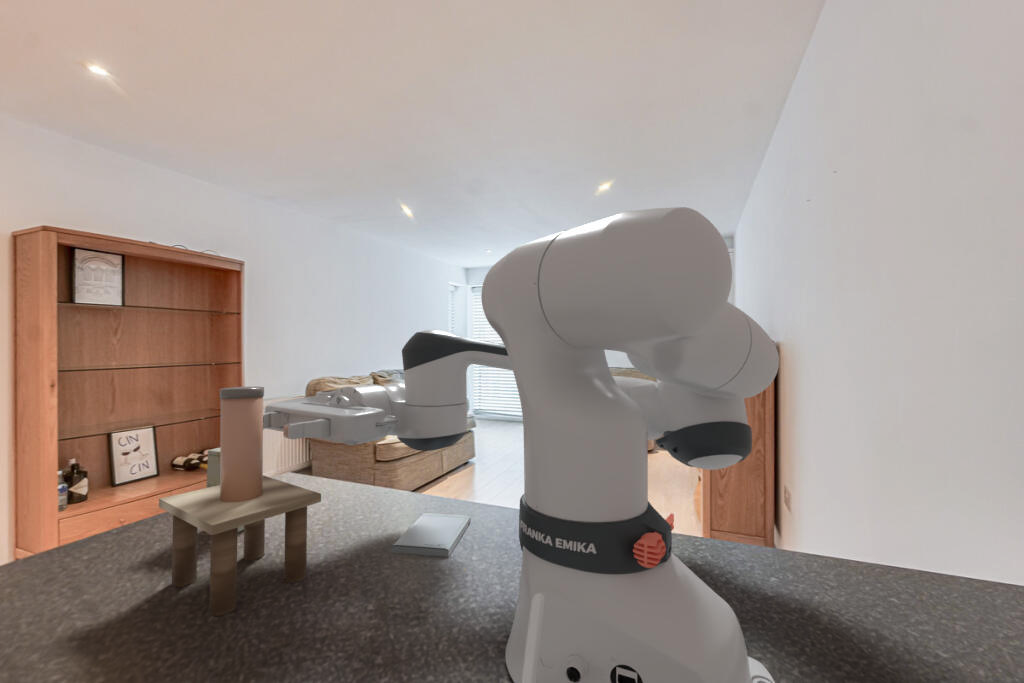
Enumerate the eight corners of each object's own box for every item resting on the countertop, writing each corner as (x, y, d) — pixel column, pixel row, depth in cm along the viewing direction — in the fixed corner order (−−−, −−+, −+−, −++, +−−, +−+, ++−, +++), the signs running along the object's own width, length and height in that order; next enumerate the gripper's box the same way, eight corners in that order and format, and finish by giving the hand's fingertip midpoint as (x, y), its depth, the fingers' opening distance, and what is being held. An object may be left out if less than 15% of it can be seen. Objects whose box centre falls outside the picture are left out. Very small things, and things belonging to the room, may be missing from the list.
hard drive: (448, 548, 60) (470, 514, 72) (391, 544, 61) (422, 511, 73) (448, 561, 60) (470, 524, 72) (391, 556, 61) (422, 521, 73)
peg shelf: (320, 575, 55) (321, 493, 55) (210, 625, 45) (212, 525, 45) (261, 546, 62) (262, 475, 63) (157, 583, 53) (159, 498, 53)
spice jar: (271, 494, 54) (271, 387, 55) (230, 505, 51) (231, 390, 51) (251, 487, 57) (252, 386, 57) (211, 497, 53) (212, 388, 53)
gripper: (405, 443, 62) (313, 464, 51) (318, 428, 74) (227, 443, 62) (405, 398, 62) (314, 409, 51) (318, 390, 74) (228, 398, 62)
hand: (266, 428), depth 57 cm, fingers open, 8 cm apart
